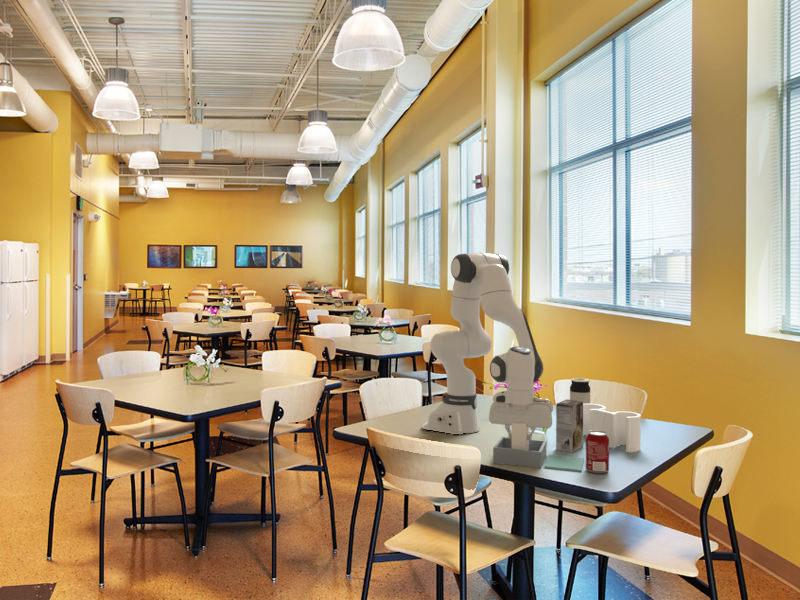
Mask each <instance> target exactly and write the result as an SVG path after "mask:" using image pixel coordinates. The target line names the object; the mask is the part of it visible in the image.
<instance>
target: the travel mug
mask: <svg viewBox="0 0 800 600" xmlns="http://www.w3.org/2000/svg"><path fill="white" fill-rule="evenodd" d="M590 380H591V379H589V378H585V377H573V378H571V379H570V381H571V384H570V386H569V400H575V401H580V402H583V404H591V386H590V385H589V383H590Z"/></svg>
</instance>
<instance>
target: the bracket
mask: <svg viewBox="0 0 800 600" xmlns="http://www.w3.org/2000/svg"><path fill="white" fill-rule="evenodd" d="M641 419H642V417H641V414H640V413H639V412H638V413H637V412H633V411H621V410H620V411H615V412H613V411H607V410H606V406H605V405H601V404H597V403H590V404H583V435H588V431H591V430H599V431H604V432H606V433H607V437H608V438H609V446H611V447H612V448H611V447H610V448H611V449H616V448H617V447H619V446H618V445H626V446H625V453H627V452H630V453H636V452H637V451H638V452H640V451H641V436H642V435H641V432H642V431H641V429H642V427H641V426H642V425H641ZM616 446H617V447H616ZM615 447H616V448H615ZM638 452H637V453H638Z"/></svg>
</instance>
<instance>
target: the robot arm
mask: <svg viewBox="0 0 800 600" xmlns="http://www.w3.org/2000/svg"><path fill="white" fill-rule="evenodd" d="M509 264H510V262H509V260H508V258H507V257H506V256H505V255H503V254H499V253H489V252H487V253H486V252H478V253H476V252H475V253H460V254H457V255H455V256H454V257H453V258H452V261H451V264H450V272H451V276H452V278H453V279H454V281H453V286H452V293H451V302H450V315H451V317H452V318H453V319H454V320H455V321H457V323H460V330H446V331H441V332H438V333H435V334H434V335H433V336H432V337H431V341H430V345H429V346H430V351H431V354H432V355H433V356H434V357H435V358H436V359H438V360H439V362H440V363H441V364H442V365H443V368H444V370H445V373H446V374H445V375H446V384H447V385H446V388H447V389H446V391H445V392H444V393H443V394H442V396H441V400H442V402H441V403H440V404H438V405H437V406H436V407H434V408H433V409H432V410H430V412H429V414H428V417H427V421H426V422H424V423H423V424H422V426H421V429H422V428H423V429H428V430H434V431H440V432H446V433H452V434H451V435H453V434H459V435H464V434H463V433H466V434H473V433H476V432H479V431H480V430H481V429H480V426H479V421H478V416H477V415H478V413H477V407H478V398H477V393H476V374H475V373H474V371H473V370H472V369H470V368H468V367H467V366H466V365H465V361H464V359H473V358H475V359H476V358H479V357H483V356H486V355H488V354H489V353H490V351H491V350H492V347H493V345H492V342H493V341H492V338H491V336H490V334H489V333H488V332H487V331H486V330H485V328H484V327H483V325H482V323H481V318H480V307H481V308H482V310H483V312H484V313H485V315H486V316H487V317H489V318H490V319H491V320H493V321H495V322H498V323H501V324H503V325H506V326H507V327H509V328H510V329H512V331H513V332H514V334H515V337H516V340H517V343H518V346H512V347H510V348H508V350H507V352H505V353H502V354H498V355H495V356H494V357H493V358H492V359H491V361H490V364H489V373H490V376H491V377H492V379H493V380H494V381H495V382H496V383H501V384H507V386H506V390H504V391H499V392H496V393H495V394H493V396H492V401H493V402H492V403H491V404H490V406H489V407H490V408H489V413H488V421H489V422H490V423H491V424H495V425H504V429H505V430H506V432H507V433H508V434H507V435H508V438H511V439H512V429H510V427H511V426H512V422H519V423H527V427H529V431H531V432H529V434H527V440H533V435H534V432H535V431H536V429H537V428H538V429H539V428H540V429H550V428H551V427H552V425H553V416H552V415H553V414H552V413H553V411H554V404H553V402H552V401H551V400H549V399H548V398H538V397H535V384H534V383H536V382H537V381H539V380H540V378H541V376H542V375H543V374H544V373H543V372H544V364H543V361H542V358H541V356H540V354H539V352H538V349H537V347H536V344H535V340H534V337H533V335H532V332H531V328H530V326H529V321H528V319H527V317H526V315H525V312H524V310H523V309H521V308H520V306H518V304H517V303H516V301H515V298H514V297H513V296H514V295H513V291H512V286H511V281H510V278H509V272H510V265H509ZM423 429H422V430H423ZM446 433H445V434H446Z"/></svg>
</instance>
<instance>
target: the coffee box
mask: <svg viewBox="0 0 800 600" xmlns="http://www.w3.org/2000/svg"><path fill="white" fill-rule="evenodd" d="M555 410H556V413H555V414H556V417H555V418H556V420H555V422H556V423H555V424H556V425H555V427H556V428H555V430H556V431H555V435H556V436H555V445H556V446H555V449H556V450H559V451H564V452H569V453H574V452H575V451H578V450H579V449H582V448H583V447H584V436H583V402H580V401H575V400H570V399H565V400H562V401H560V402H557V403H556V409H555Z"/></svg>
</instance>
